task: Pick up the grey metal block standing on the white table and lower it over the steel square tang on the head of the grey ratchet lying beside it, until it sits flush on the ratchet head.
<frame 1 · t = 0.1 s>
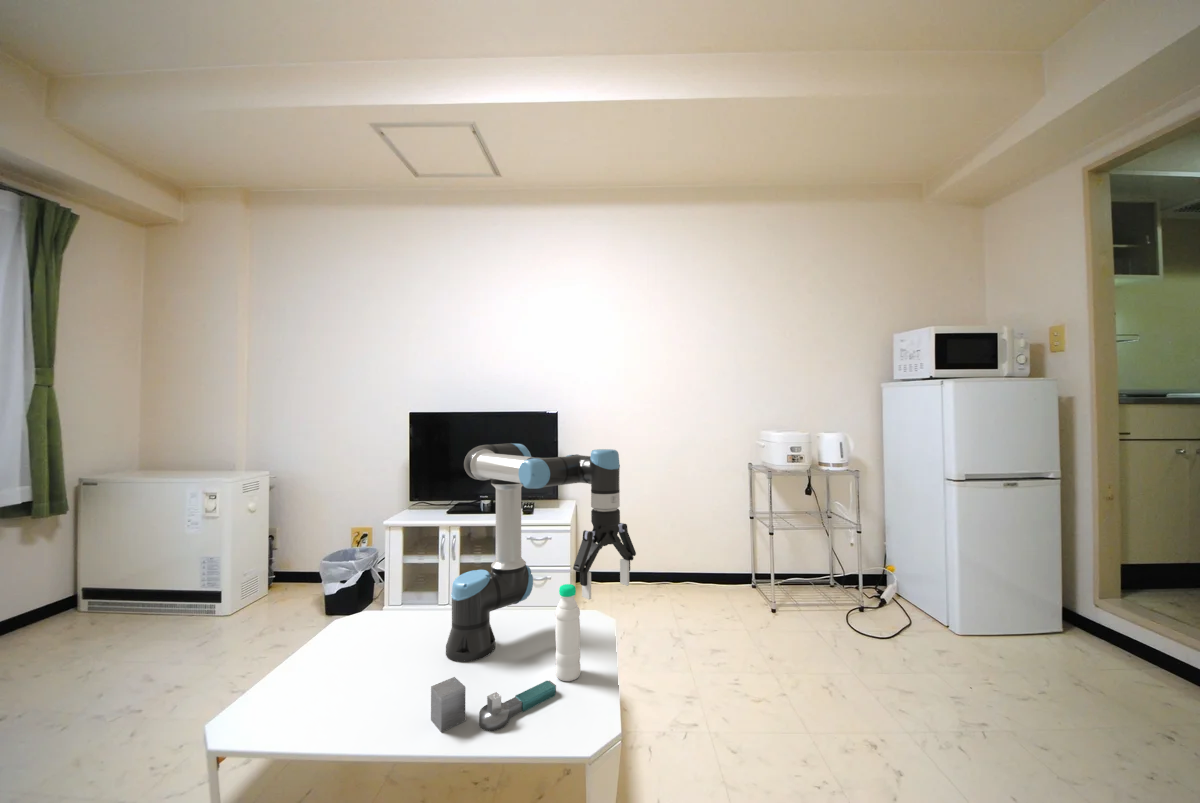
hand: (606, 590, 118), 28 cm above the table, fingers open, 13 cm apart
ratchet: (494, 721, 110), on the table
water bottle: (568, 676, 129), on the table
grey metal block: (448, 720, 110), on the table
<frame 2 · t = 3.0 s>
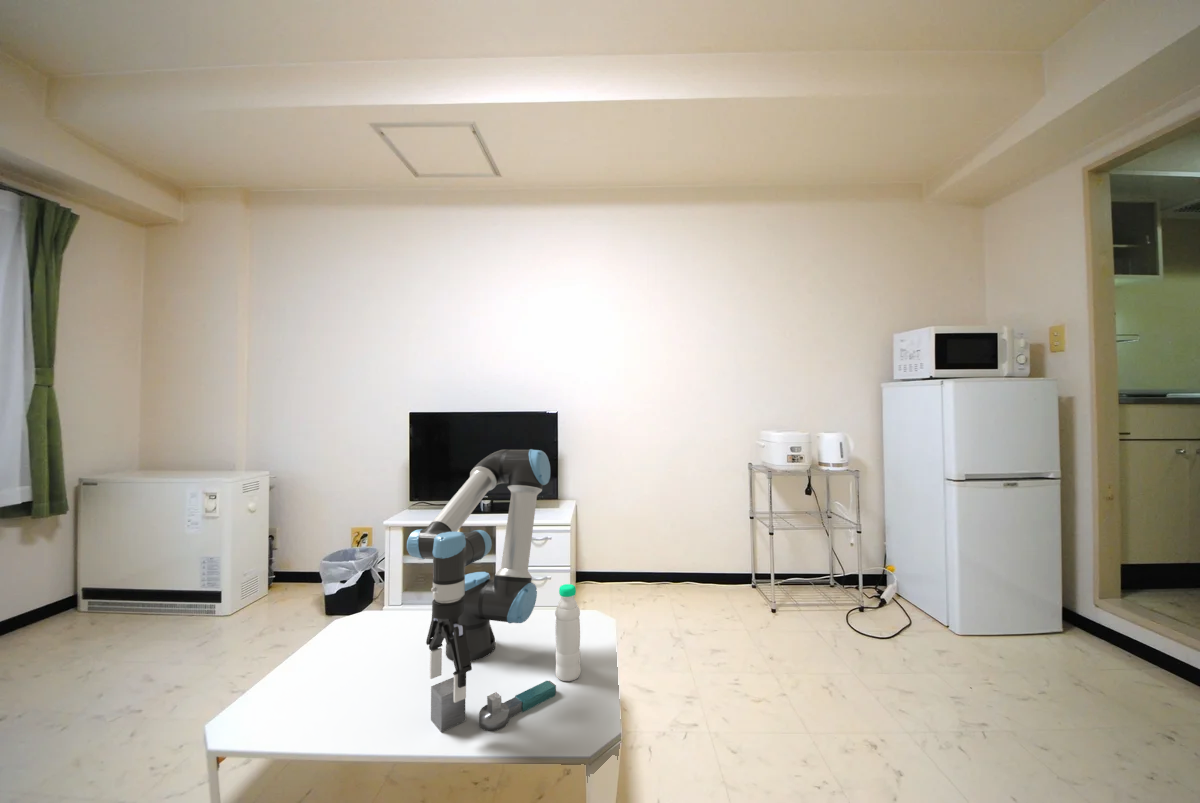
hand: (447, 687, 110), 8 cm above the table, fingers open, 13 cm apart
nothing on the table moved.
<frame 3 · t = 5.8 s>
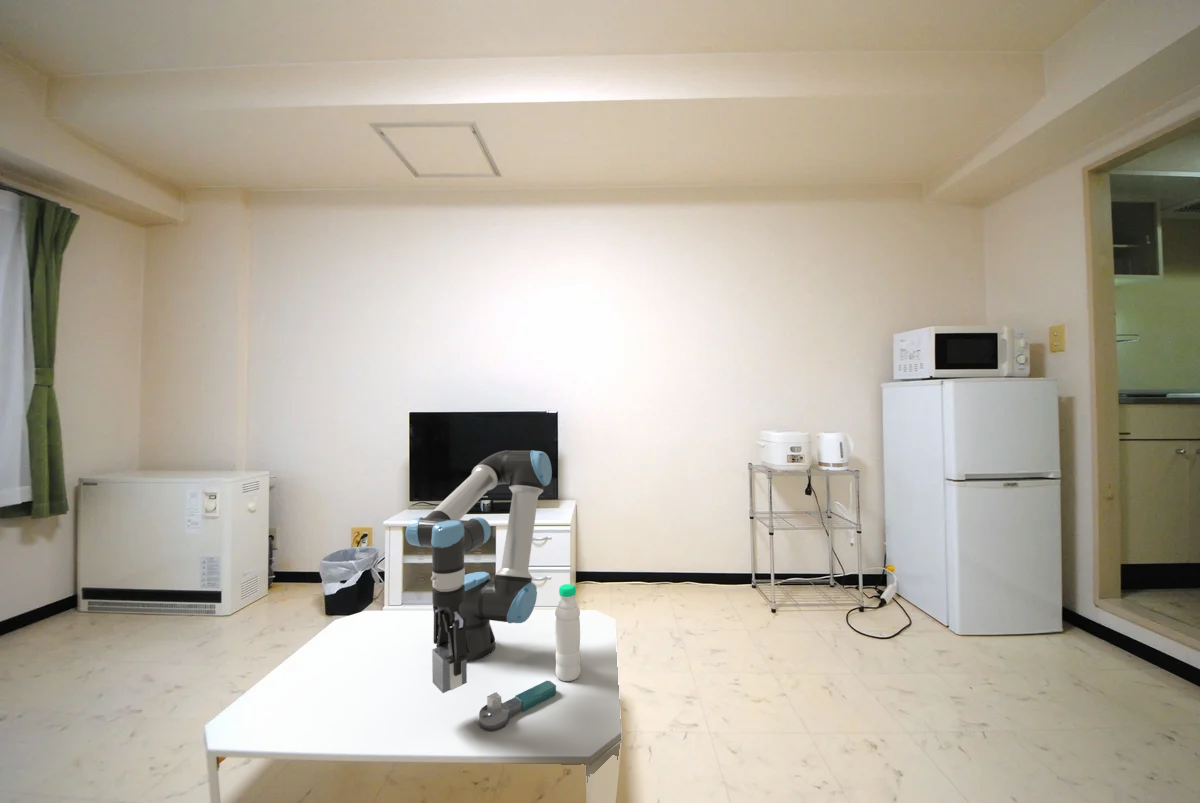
hand: (449, 680, 111), 9 cm above the table, fingers closed on grey metal block, 6 cm apart
grey metal block: (449, 682, 111), point 9 cm above the table, touching gripper
everything else where it was.
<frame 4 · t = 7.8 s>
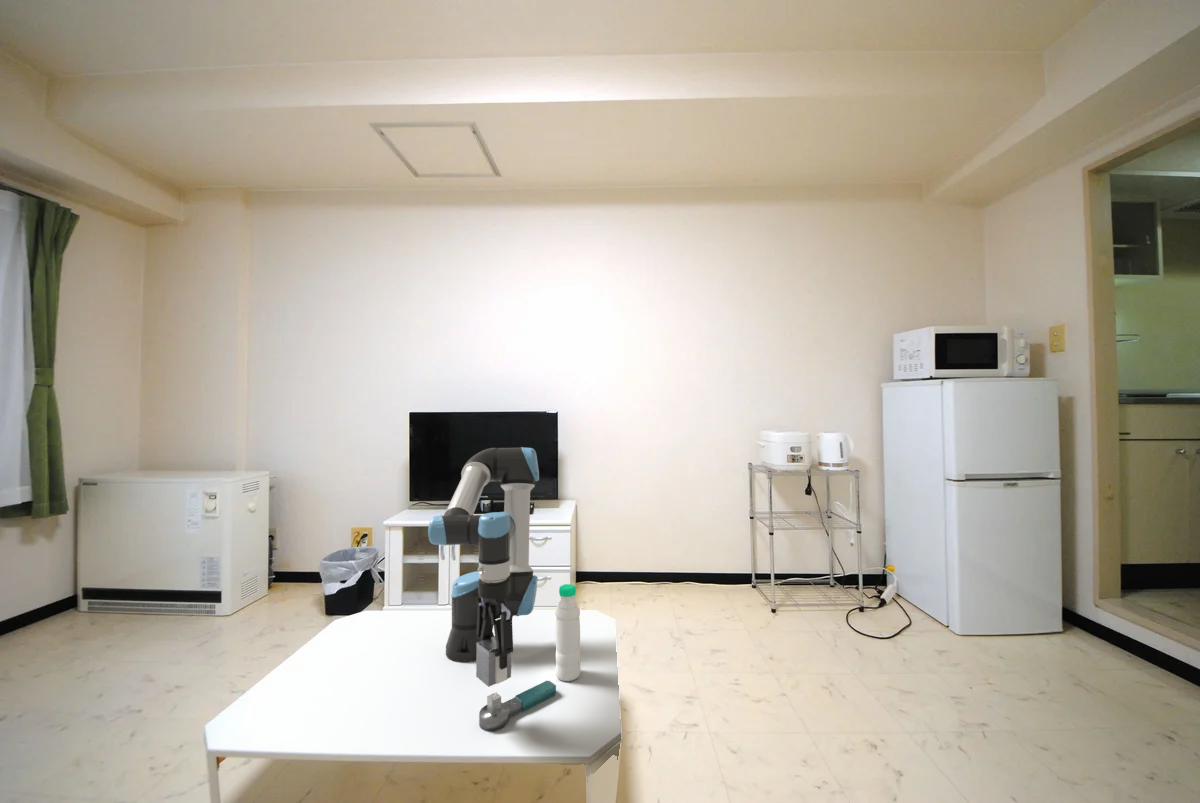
hand: (494, 675, 110), 11 cm above the table, fingers closed on grey metal block, 6 cm apart
grey metal block: (493, 676, 110), point 11 cm above the table, touching gripper
everything else where it was.
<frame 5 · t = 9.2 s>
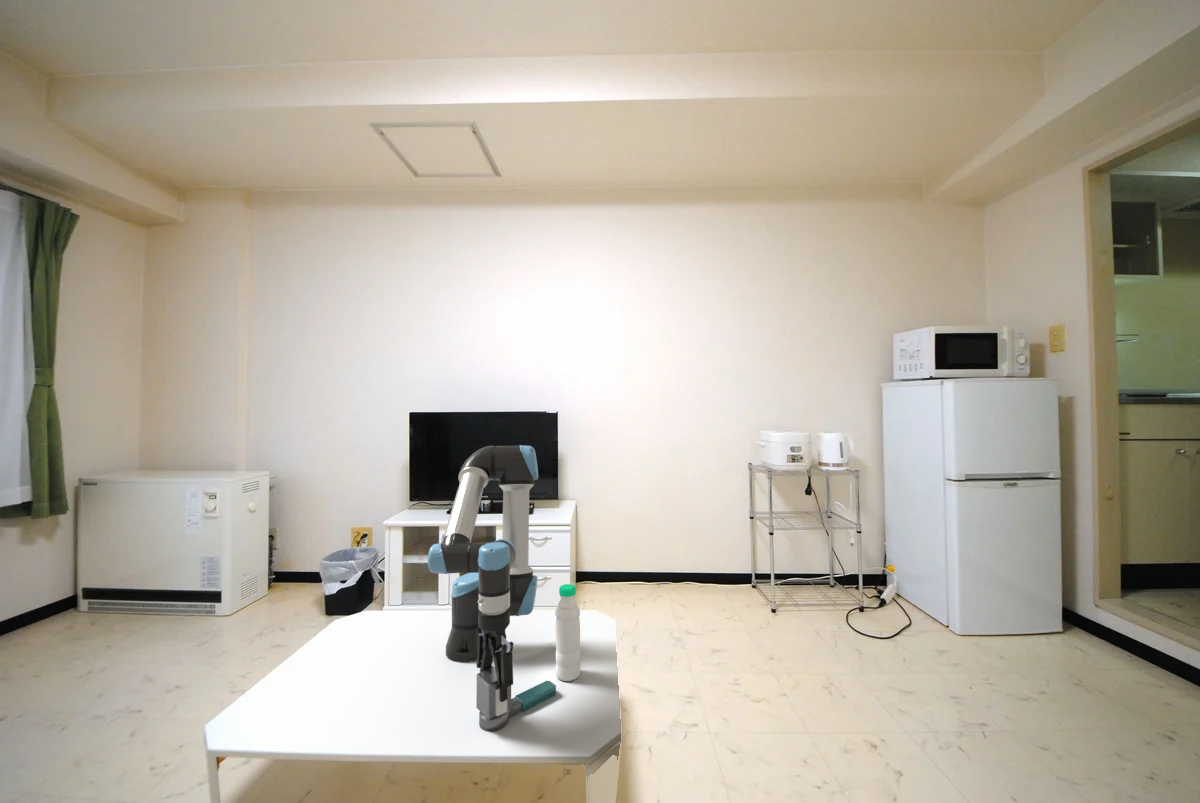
hand: (494, 706, 110), 3 cm above the table, fingers closed on grey metal block, 6 cm apart
grey metal block: (493, 708, 110), point 3 cm above the table, touching gripper
everything else where it was.
when the fingers open (3 cm above the table, at t = 9.8 s): grey metal block moves 3 cm, resting on ratchet.
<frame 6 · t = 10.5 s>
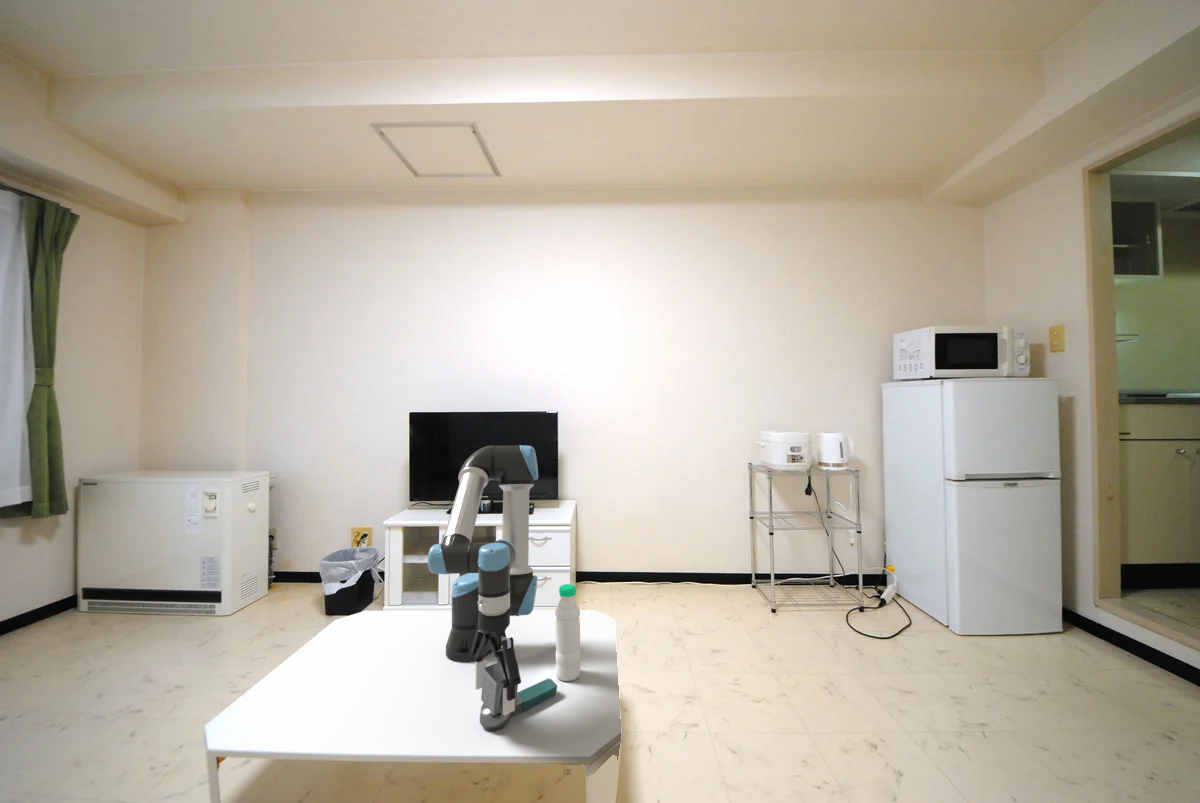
hand: (494, 699, 110), 5 cm above the table, fingers open, 13 cm apart
ratchet: (494, 718, 109), point 1 cm above the table, tilted 13°, touching grey metal block
grey metal block: (498, 702, 108), point 5 cm above the table, tilted 10°, touching gripper, ratchet
everything else where it was.
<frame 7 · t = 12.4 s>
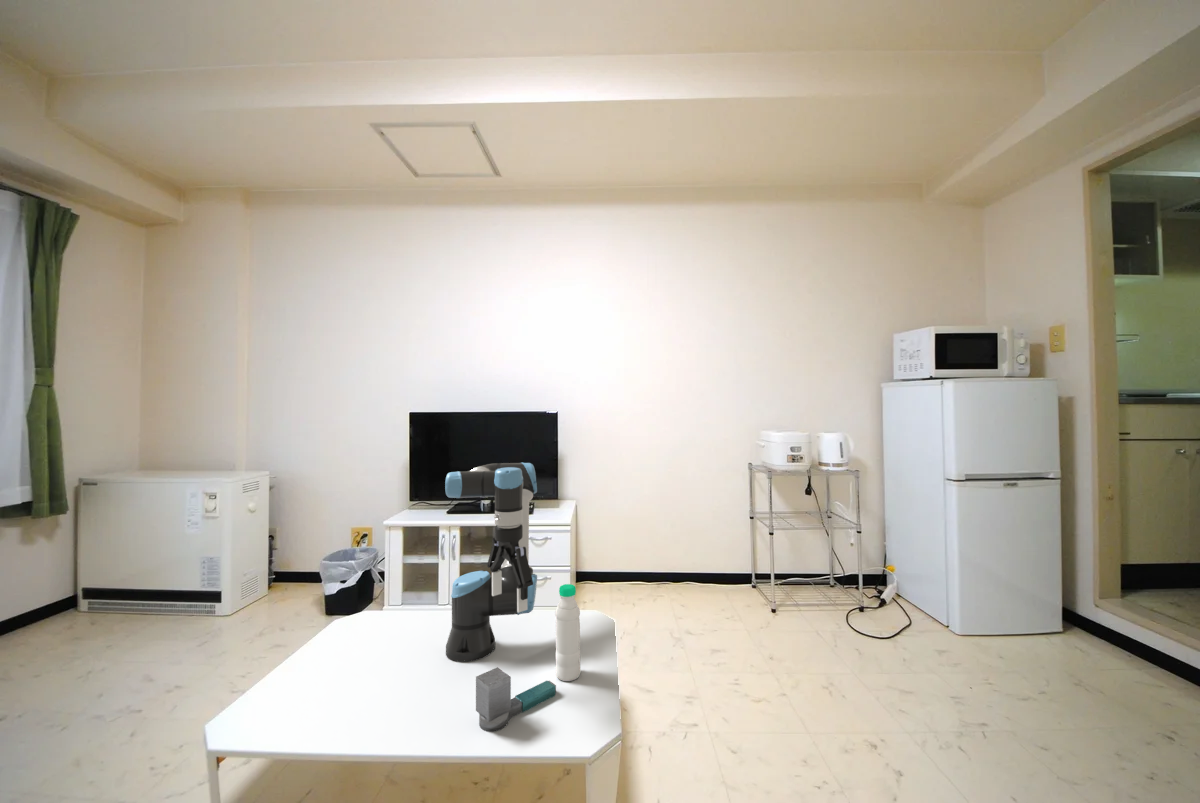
hand: (509, 602, 125), 23 cm above the table, fingers open, 13 cm apart
ratchet: (494, 722, 109), on the table, touching grey metal block
grey metal block: (493, 710, 110), point 2 cm above the table, touching ratchet
everything else where it was.
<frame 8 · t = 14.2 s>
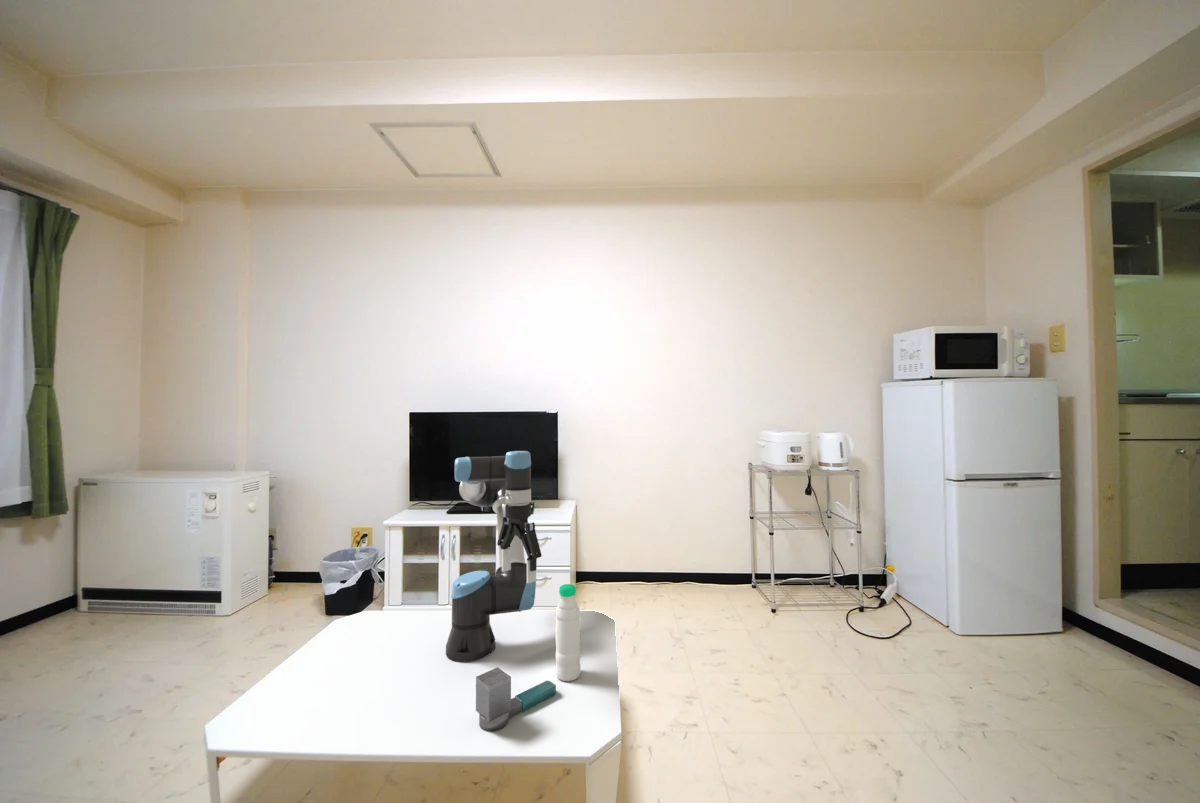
hand: (518, 576, 134), 27 cm above the table, fingers open, 13 cm apart
nothing on the table moved.
at the end: grey metal block 0.4 cm from the ratchet (horizontally); grey metal block point 2.4 cm above the table; the gripper is holding nothing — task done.
